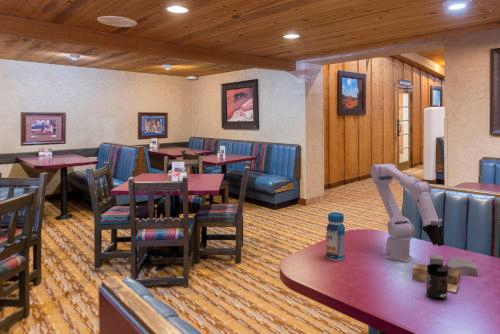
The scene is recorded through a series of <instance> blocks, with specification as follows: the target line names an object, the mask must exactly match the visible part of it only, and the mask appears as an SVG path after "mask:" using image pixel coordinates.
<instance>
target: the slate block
mask: <svg viewBox="0 0 500 334" xmlns="http://www.w3.org/2000/svg"><path fill="white" fill-rule="evenodd" d="M429 264H439V265H443V266H444V258H443V255H438V254H437V255H436V254H429ZM429 264H428V265H429Z"/></svg>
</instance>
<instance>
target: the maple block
mask: <svg viewBox="0 0 500 334" xmlns="http://www.w3.org/2000/svg"><path fill="white" fill-rule="evenodd" d="M412 281H417V282H421V283H422V282H423V283H426V282H427V265H425V264H421V263H415V264H414V265H413V266H412Z"/></svg>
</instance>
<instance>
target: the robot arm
mask: <svg viewBox="0 0 500 334" xmlns="http://www.w3.org/2000/svg"><path fill="white" fill-rule="evenodd" d="M370 177H371V179H372V181H373V183H374V185H375V187H376V190H377V192H378V194H379V197H380V199H381V201H382V203H383V205H384V209H385V211H386V213H387V215H388V217H389V221H388V222H387V223H386V227H387V233H388V235H389V236H388V237H387V239H386V241H385V259H388V260H393V261H398V262H404V263H409V262H410V261H411V259H412V257H413V256H412V255H410V252H411V250H410V247H411V245H410V244H411V240H412V237H414V236H415V232H416V231H415V230H416V229H415V225H413V224H412V222H411V221H410V219H409V218H407V217H406V216H403V215H402V213H401V210H400V208H399V205H398V203H397V202H396V198H395V196H394V194H393V191H392V190H391V188H390V184H391V183H392V182H393V180H397V181H398V182H399V185H400V186H402V187H403V189H406V190H407V191H409V192H408V193H409V195H410V196H411V198H413V201H415V203H416V206H417V209H418V211H419V212H418V213H419V214H420V217H421V221H422V225H423V227H421V229H422V230H423V231H424V233H425V234H426V235H427V237H428V238H429V241H431V243H432V245H433V246H436V245H437V246H438V247H441V246H445V242H444V230H445V229H444V228H445V227H444V225H441V226H440V225H439V224H440V222H443V219H442V218H439V217H438V214H437V211H436V208H435V205H434V202H433V200H432V196H431V192H432V186H431V183H429V182H428V181H426V180H425V181H421V180H420V179H419V178H416V177H414V176H413V175H412V174H411V173H403V172H402V171H400V170H399V169H398V168H397V166H396V164H393V163H381V164H378V163H377V164H376V163H374V164H373V165H371V168H370Z"/></svg>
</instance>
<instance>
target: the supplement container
mask: <svg viewBox="0 0 500 334" xmlns="http://www.w3.org/2000/svg"><path fill="white" fill-rule="evenodd" d="M426 266H427V280H426V282H425V283H426V286H425V287H426V288H425V294H426V296H427V297H428V298H430V299H432V300H434V301H443V300H446V299H447V297H448V292H447V291H448V274H449V269H448V266H445V265H444V264H443V265H439V264H427V265H426Z"/></svg>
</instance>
